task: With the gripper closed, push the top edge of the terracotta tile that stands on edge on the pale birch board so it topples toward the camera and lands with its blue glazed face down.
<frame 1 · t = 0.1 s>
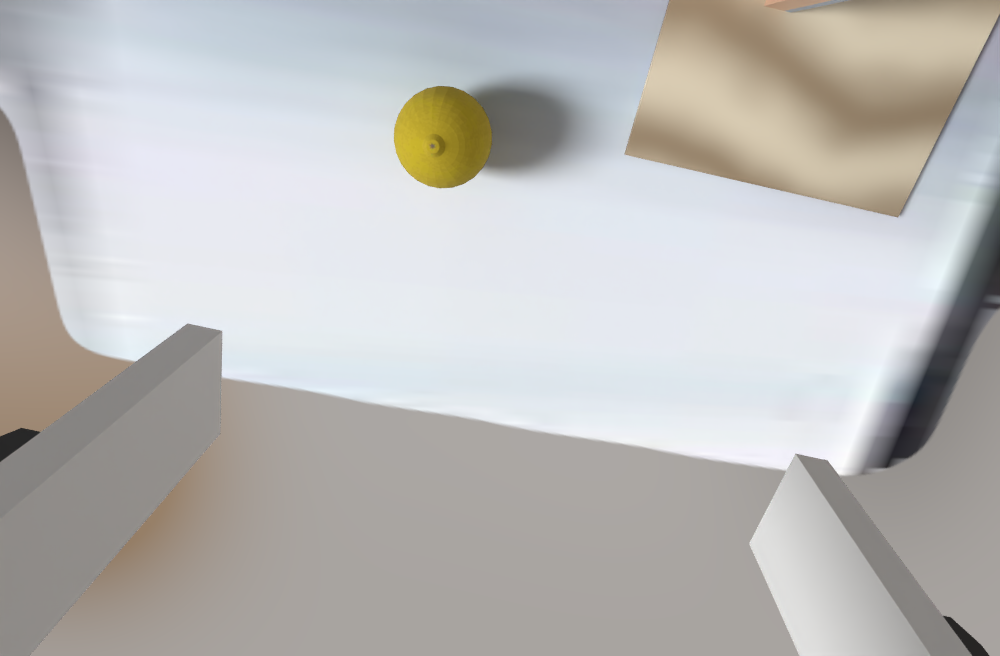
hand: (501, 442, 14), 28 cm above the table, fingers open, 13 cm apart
lemon: (452, 130, 38), on the table
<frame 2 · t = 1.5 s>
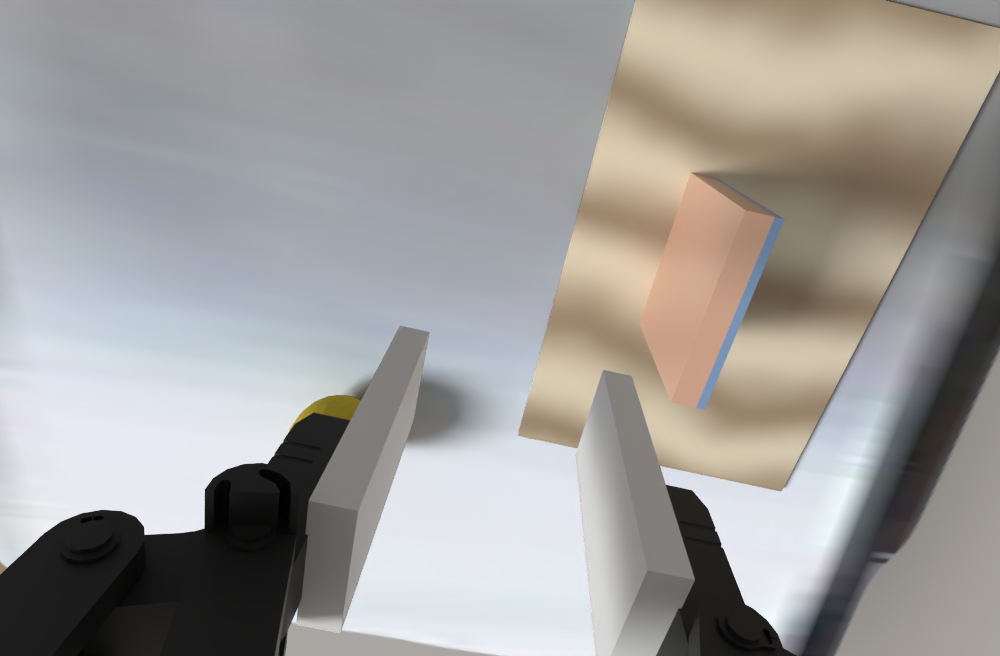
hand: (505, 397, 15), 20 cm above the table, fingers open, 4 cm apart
tile: (723, 317, 25), point 9 cm above the table, touching board
lemon: (354, 408, 39), on the table
board: (726, 264, 34), on the table
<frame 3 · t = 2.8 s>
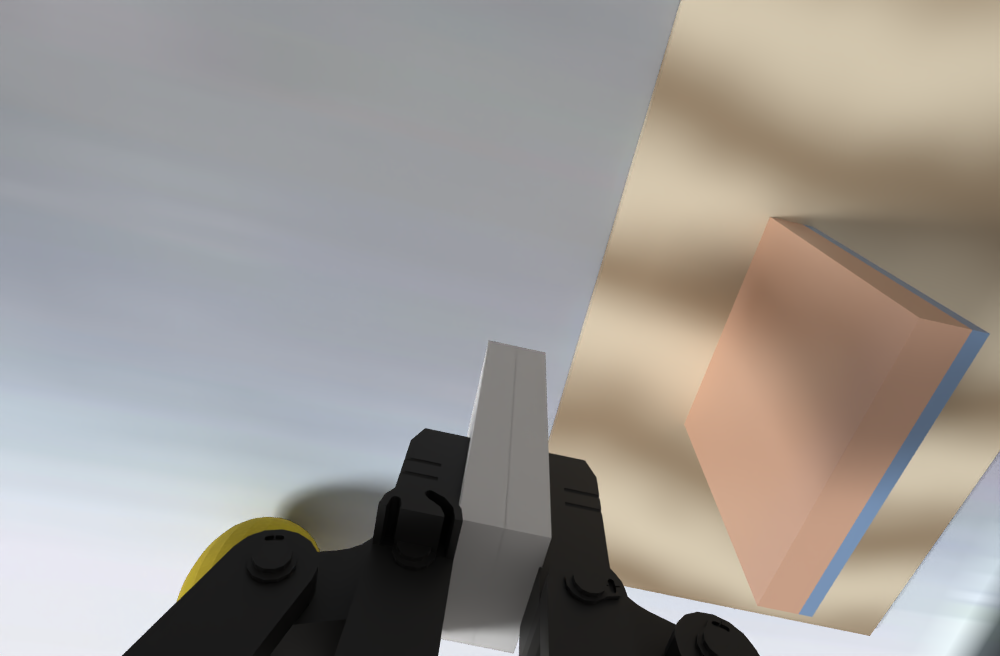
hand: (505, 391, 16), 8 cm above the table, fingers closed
tile: (858, 486, 15), point 9 cm above the table, touching board
lemon: (290, 523, 29), on the table
board: (813, 345, 23), on the table
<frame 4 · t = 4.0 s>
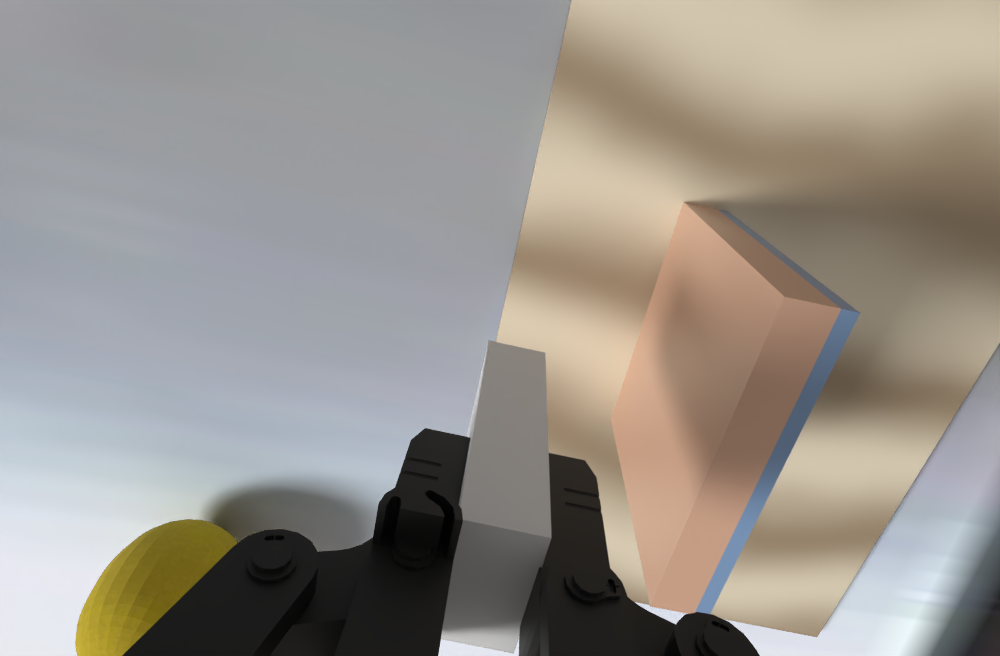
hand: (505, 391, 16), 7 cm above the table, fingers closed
tile: (741, 478, 14), point 9 cm above the table, touching board
lemon: (219, 526, 28), on the table
board: (739, 335, 22), on the table
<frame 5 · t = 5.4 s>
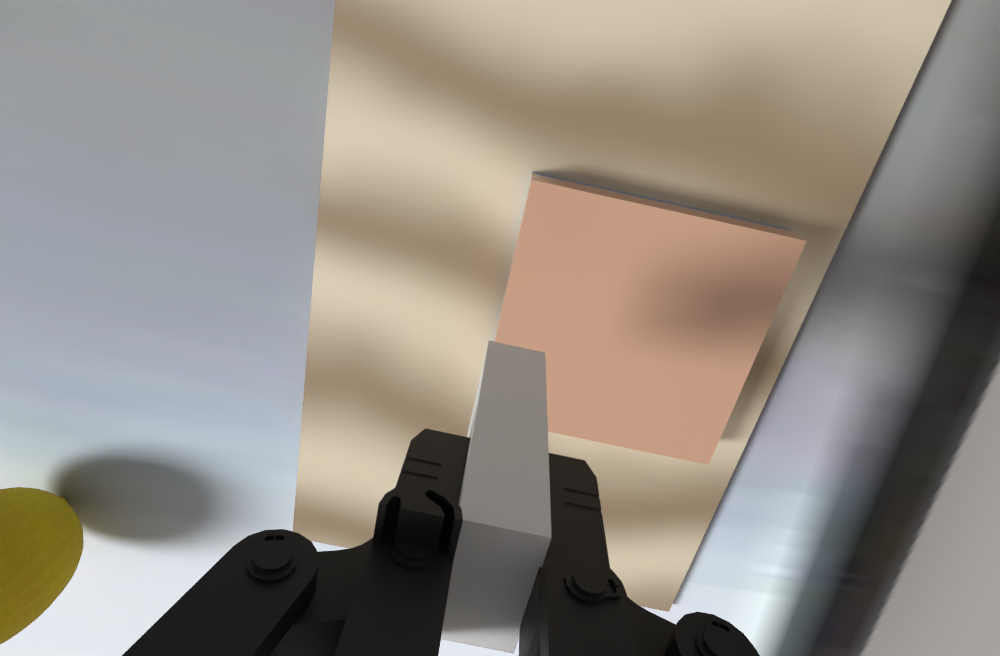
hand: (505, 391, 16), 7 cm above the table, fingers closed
tile: (745, 352, 21), point 1 cm above the table, tilted 90°, touching board
lemon: (65, 497, 28), on the table
board: (554, 299, 22), on the table
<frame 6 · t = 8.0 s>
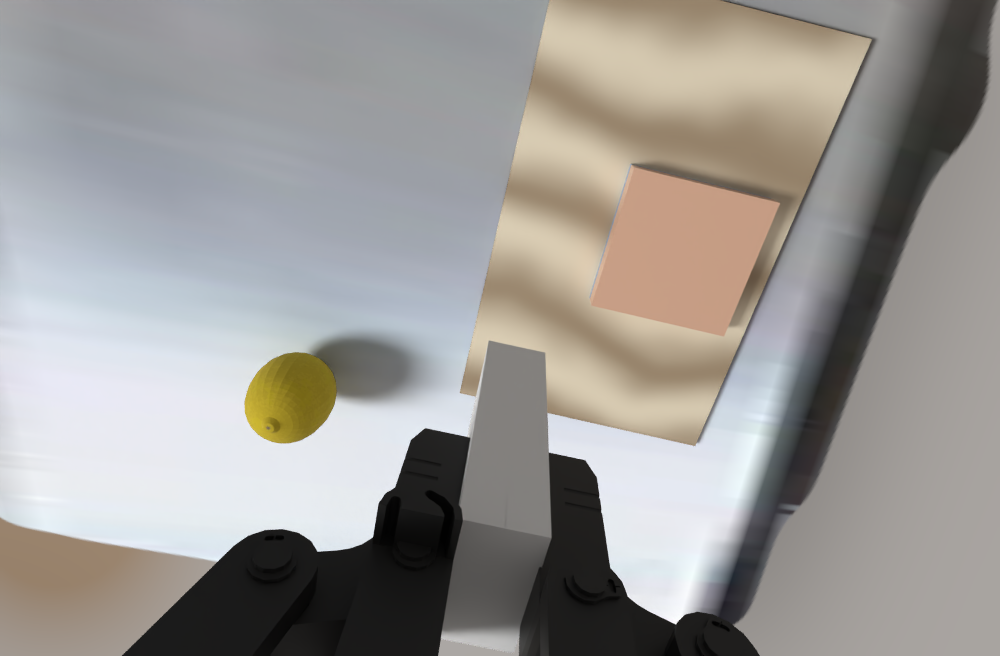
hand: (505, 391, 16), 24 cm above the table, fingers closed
tile: (746, 269, 38), point 1 cm above the table, tilted 90°, touching board
lemon: (313, 367, 44), on the table
board: (636, 238, 39), on the table
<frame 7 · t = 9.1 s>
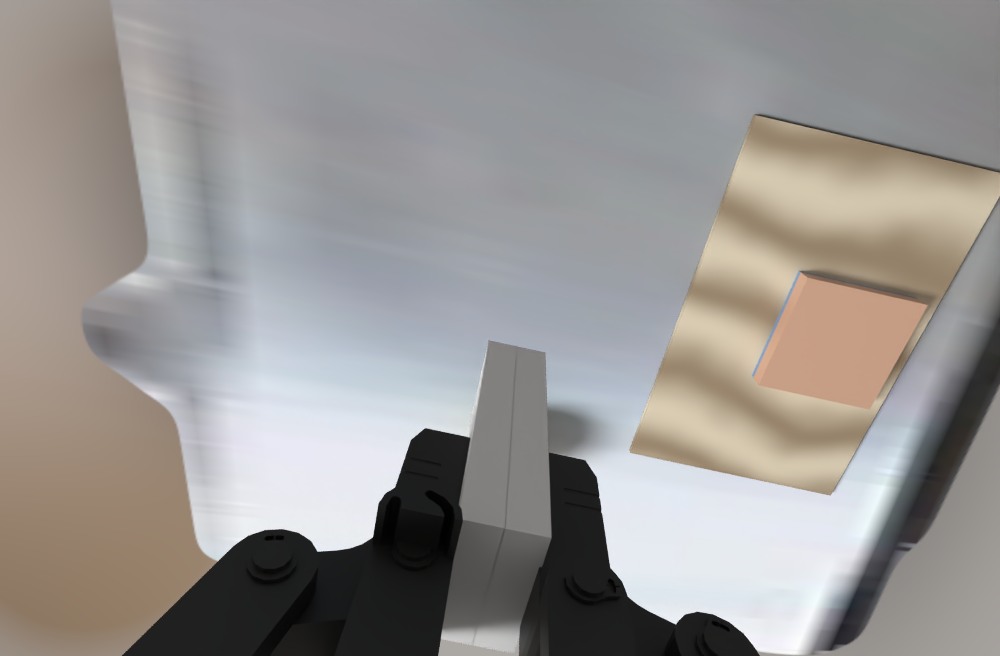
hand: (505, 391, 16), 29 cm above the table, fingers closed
tile: (891, 354, 45), point 1 cm above the table, tilted 90°, touching board
board: (796, 328, 46), on the table
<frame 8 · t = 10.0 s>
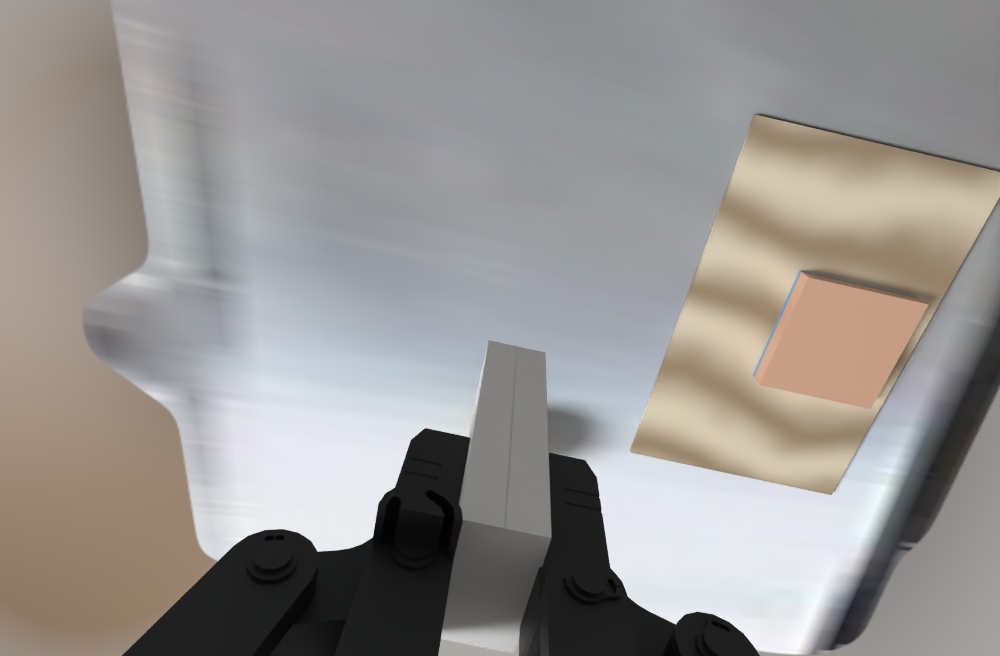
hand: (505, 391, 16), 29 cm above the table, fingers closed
tile: (892, 354, 45), point 1 cm above the table, tilted 90°, touching board
board: (796, 328, 46), on the table
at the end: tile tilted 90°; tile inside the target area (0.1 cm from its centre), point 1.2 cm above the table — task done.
